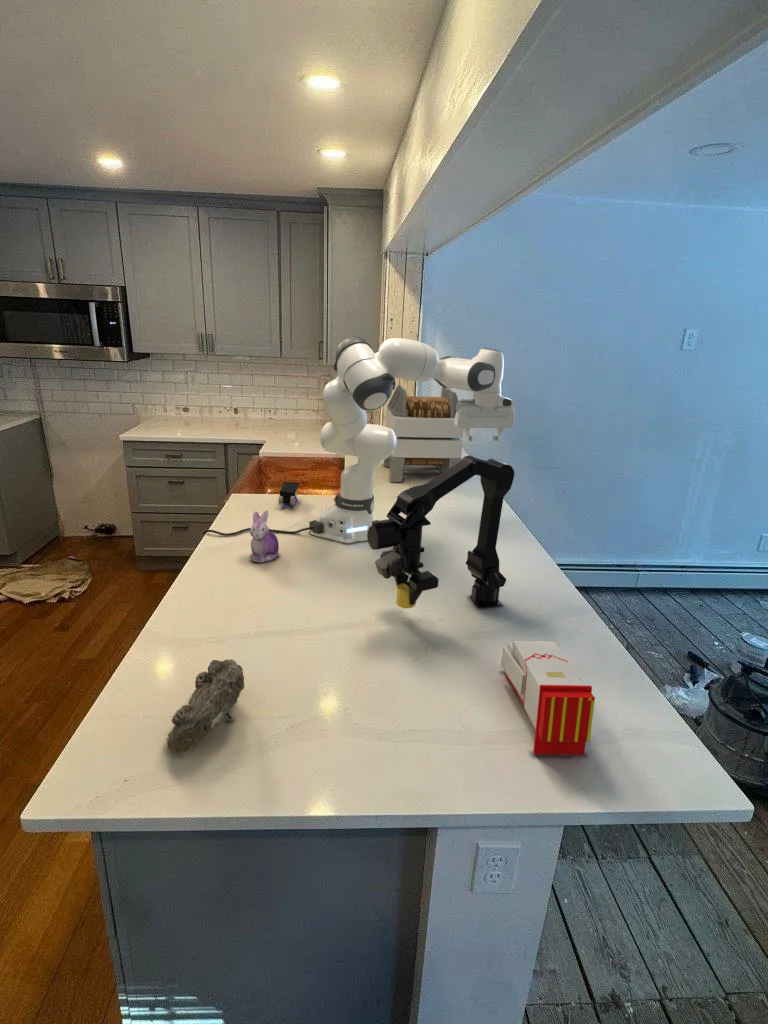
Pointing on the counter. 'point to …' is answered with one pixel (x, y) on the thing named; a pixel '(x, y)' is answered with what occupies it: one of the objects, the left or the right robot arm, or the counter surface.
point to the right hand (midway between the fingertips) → (406, 599)
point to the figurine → (262, 539)
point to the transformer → (423, 432)
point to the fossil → (206, 705)
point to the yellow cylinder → (403, 596)
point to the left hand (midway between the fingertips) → (482, 440)
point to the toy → (550, 696)
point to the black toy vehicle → (288, 494)
